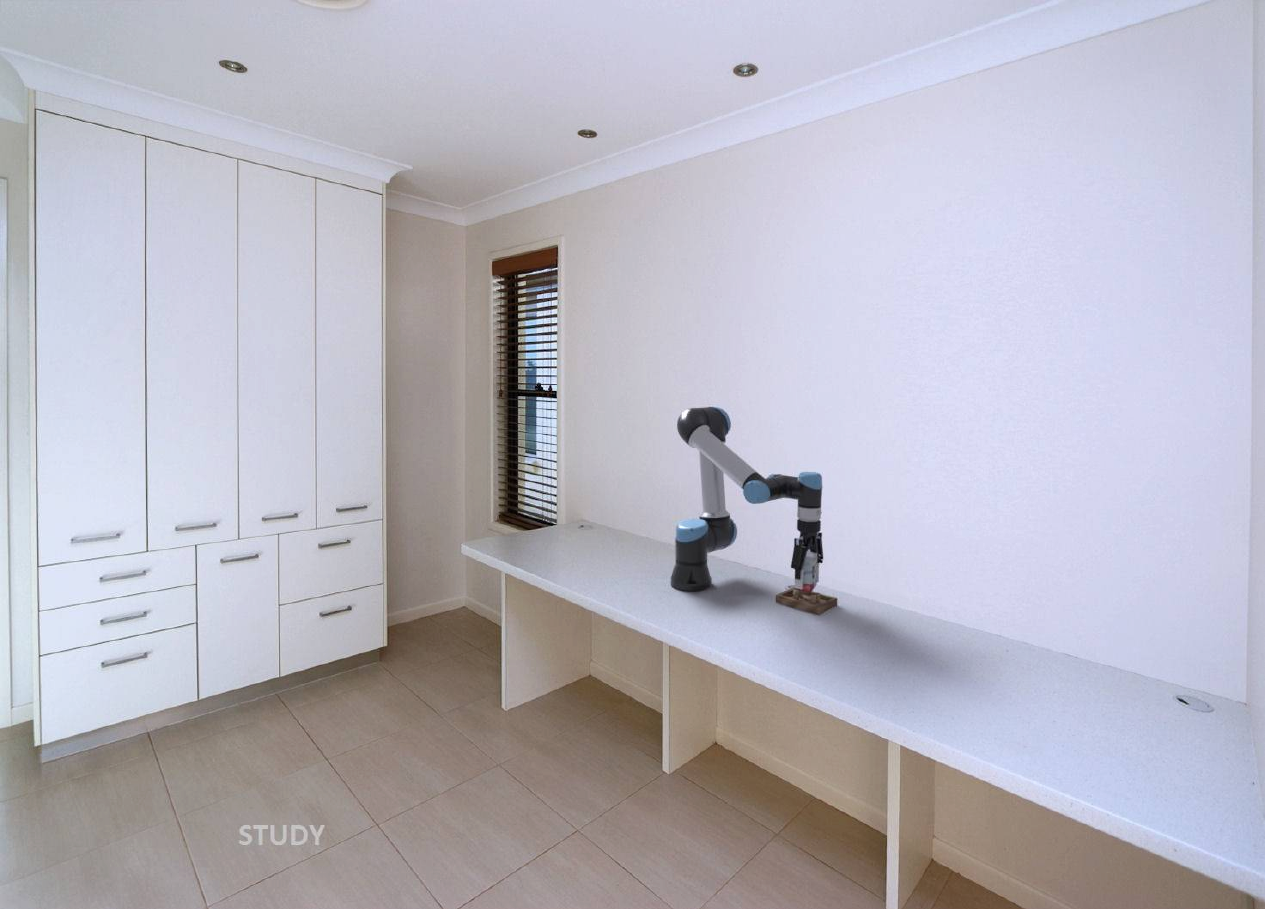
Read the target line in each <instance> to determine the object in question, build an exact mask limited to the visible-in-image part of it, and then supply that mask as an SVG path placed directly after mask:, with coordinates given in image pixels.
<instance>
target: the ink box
mask: <svg viewBox="0 0 1265 909" xmlns="http://www.w3.org/2000/svg"><path fill="white" fill-rule="evenodd" d="M802 570H804V573H803V589H802V590H801V589H798V588H797V590H799V591H805V592H812V591H813V592H814V589H816V586H817V583H818V582H817V553H815V552H811V551H810V550H809V551H807V554H806V557H805V560H804V564H803V567H802Z"/></svg>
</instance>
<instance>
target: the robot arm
mask: <svg viewBox="0 0 1265 909" xmlns="http://www.w3.org/2000/svg"><path fill="white" fill-rule="evenodd" d="M676 421H677V423H676V429H677V432H678V434H679V436H680V438H681V440H683V442H684V443H686V444H687V445H688V447H690V448H692V449H696V450H697V451H698V453H699V454H698V455H699V466H700V467H699V468H700V481H701V482H700V483H701V485H700V487H701V501H702V511H701V512H700V514H699V518H692V519H686V520H682V521H680V522H678V524H677V525H676V526H675V533H674V537H675V538H674V539H675V540H674V542H675V547H674V548H675V551H674V552H675V554H674V555H675V561H674V562H675V563H674V567H673V570H672V574H671V577H670V586H671V587H673V588H674V589H677V590H680V591H685V592H687V591H688V592H698V591H699V592H701V591H705V590H708V589H710V588H711V587H712V586H713V583H712V582H713V580H712V576H711V573H710V570H709V566H708V554H710V553H712V552H713V553H714V552H717V551H721V550H724V549H726V548H728V547H731V546H732V545H733V544H734V543H735V541H736V539H737V535H738V529H737V525H736V522H734V520H733V519H732V518H731V513H730V512H729V511H728V510H727V509H726V496H725V495H726V493H725V479H724V478H725V476H724V475H726V476H727V477H728V478H730V480H732V481H733V482H734V483H735V484H736V485H737V486H738V487H740V488H741V489H742V494H743V497H744V499H745V500H746V501H747V502H748V503H749V504H752V505H756V504H757V505H759V504H765V503H767V502H771V501H776V500H780V499H791V500H797V513H796V518H797V519H796V530H797V531H798V532H799V533H800V534H799V537H798V538H797V537H796V538H794V542H793V551H792V557H791V564H790V568H791V569H794V588H798V589H801V590H802V589H803V573H804V570H802V567H803V564H804V560H805V557H806V554H807V551H811V552H815V553H817V583H819V581H820V564H822V563H823V561H824V552H823V551H824V549H823V538H822V537H823V533H822V532H820V531H821V526H822V524H821V523H822V522H821V516H822V514H823V513H822V496H823V495H822V494H823V492H822V491H823V476H822V474H820V472H816V471H815V472H814V471H801V472H799V474H798V476H793V475H785V474H780V473H779V474H778V473H777V474H776V473H774V474H773V473H772V474H769V475H768V477H764V476H763V475H761V474H760V473H759V472H757V470H755V469H754V468H753V467H752V466H751V465H749V464H748V463H747V462H746V461H745V460H744V459H743V458H741V457H740V456H739V455H738V454H737V453H735V452H734V451H733V450H732V449H730V448H729V447H728V446H727V445H726V442H727V441H726V436H727V435H728V434H729V432H730V431H731V427H732V426H731V425H732V423H731V422H732V421H731V418H730V416H729V414H728V413H727V412H726V411H725V410H724V409H723V408H721V407H718V406H707V407H706V406H705V407H691V408H688V409H685V410H684V411H683V412H681V414H680V415H679V417H678V419H677V420H676Z"/></svg>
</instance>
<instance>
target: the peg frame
mask: <svg viewBox="0 0 1265 909" xmlns="http://www.w3.org/2000/svg"><path fill="white" fill-rule="evenodd" d="M794 587H795V586H794ZM794 587H790V588H789V589H786V590H784V591H782V592H779V593H778V594H776V595H775V603H777V604H780V605H783V606H787V607H791V608H794V609H797V610H800V611H803V612H806V613H809V614H810V613H811V614H813V615H816V616H820V615H822V614H824V613H826V612H828V611H830V610H832V609H834V608H835V607H837V606H838V597H836V596H832V595H827V594H824V593H820V592H819V591H818V592H816V591H814V590H813V591H812V592H805V591H799V590H797V588H794Z"/></svg>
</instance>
